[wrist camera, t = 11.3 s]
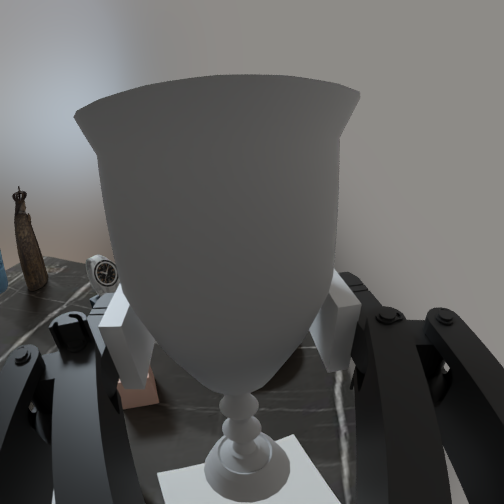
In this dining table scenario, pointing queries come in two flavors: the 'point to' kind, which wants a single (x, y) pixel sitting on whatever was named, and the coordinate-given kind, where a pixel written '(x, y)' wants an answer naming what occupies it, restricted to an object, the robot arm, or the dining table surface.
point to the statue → (28, 246)
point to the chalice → (225, 235)
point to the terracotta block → (139, 393)
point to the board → (286, 500)
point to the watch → (101, 276)
